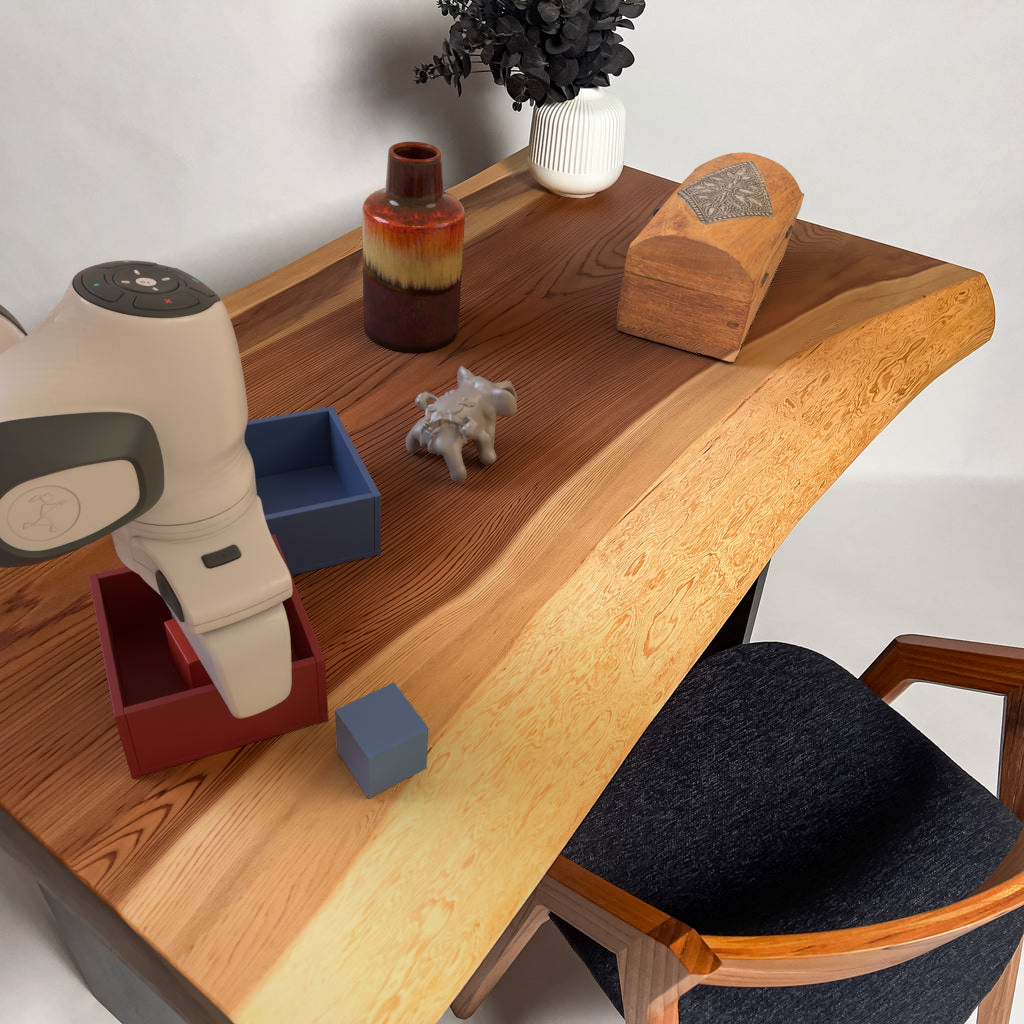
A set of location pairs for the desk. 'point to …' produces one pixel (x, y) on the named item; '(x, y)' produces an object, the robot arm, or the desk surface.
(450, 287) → the vase
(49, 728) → the desk surface
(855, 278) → the desk surface
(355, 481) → the blue bin
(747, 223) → the wooden box
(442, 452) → the grey animal figurine
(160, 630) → the red bin
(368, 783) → the blue block
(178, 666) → the red block
